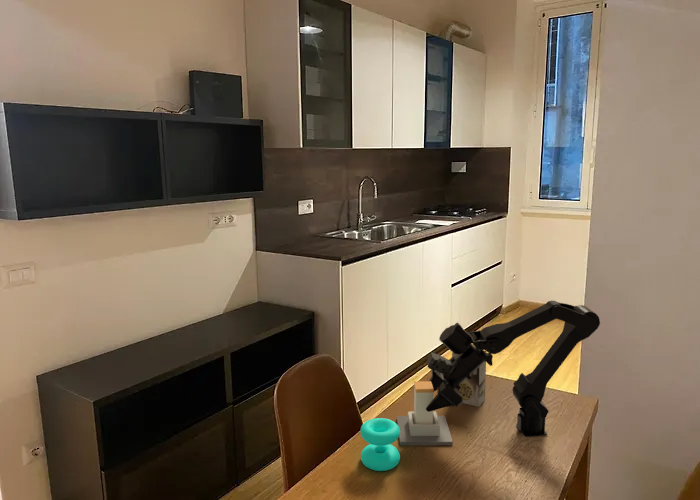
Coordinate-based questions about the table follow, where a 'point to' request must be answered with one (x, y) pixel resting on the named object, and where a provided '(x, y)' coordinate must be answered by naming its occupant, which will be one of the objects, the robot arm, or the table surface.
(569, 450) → the table surface
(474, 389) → the coffee box
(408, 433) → the socket
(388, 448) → the donuts
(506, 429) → the table surface
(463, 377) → the robot arm
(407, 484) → the table surface
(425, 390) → the plug
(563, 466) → the table surface
